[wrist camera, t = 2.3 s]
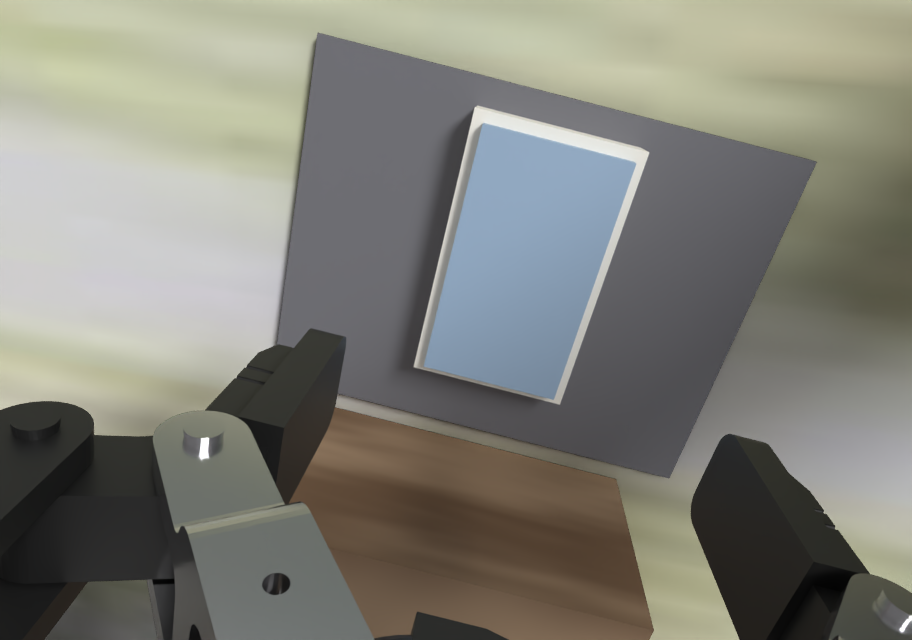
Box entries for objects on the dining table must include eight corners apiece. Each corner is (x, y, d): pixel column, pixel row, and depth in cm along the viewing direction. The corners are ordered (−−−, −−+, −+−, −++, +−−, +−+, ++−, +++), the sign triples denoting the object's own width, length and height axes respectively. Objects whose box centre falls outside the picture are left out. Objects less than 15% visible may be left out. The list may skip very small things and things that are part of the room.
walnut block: (316, 402, 27) (241, 525, 20) (616, 479, 27) (653, 630, 20) (284, 592, 32) (214, 749, 24) (540, 658, 32) (547, 834, 24)
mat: (320, 33, 21) (317, 32, 21) (811, 160, 21) (816, 161, 21) (275, 372, 27) (272, 376, 26) (667, 472, 27) (669, 478, 26)
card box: (477, 105, 21) (473, 108, 19) (641, 147, 21) (652, 154, 19) (419, 351, 25) (411, 372, 23) (557, 386, 25) (560, 411, 23)
